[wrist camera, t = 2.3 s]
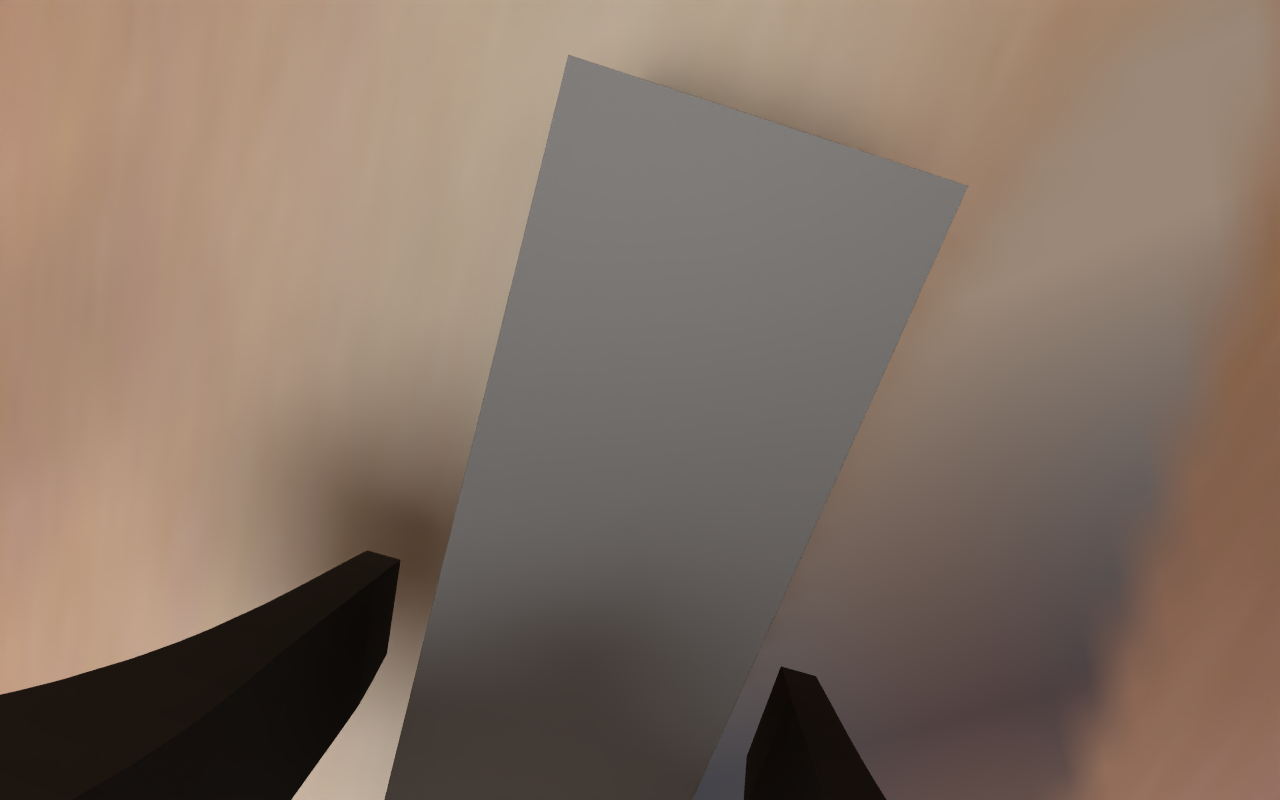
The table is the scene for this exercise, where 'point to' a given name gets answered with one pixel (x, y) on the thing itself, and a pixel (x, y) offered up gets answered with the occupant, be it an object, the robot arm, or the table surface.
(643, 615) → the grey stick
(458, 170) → the table surface
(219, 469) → the table surface
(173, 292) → the table surface
